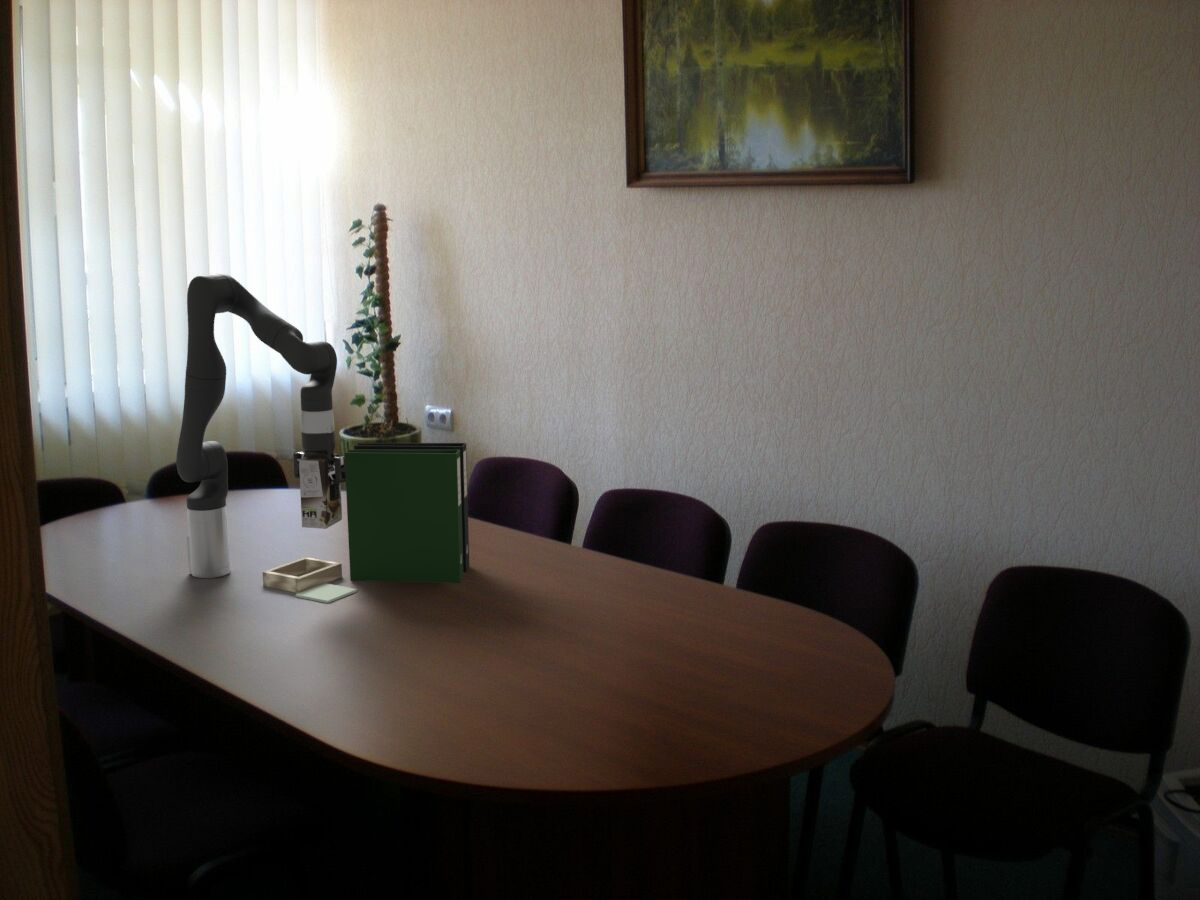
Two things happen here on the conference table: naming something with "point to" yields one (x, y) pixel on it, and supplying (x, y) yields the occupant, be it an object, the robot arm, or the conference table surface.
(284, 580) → the pocket frame
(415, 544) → the binder
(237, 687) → the conference table surface
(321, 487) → the coffee box
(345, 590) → the mat
